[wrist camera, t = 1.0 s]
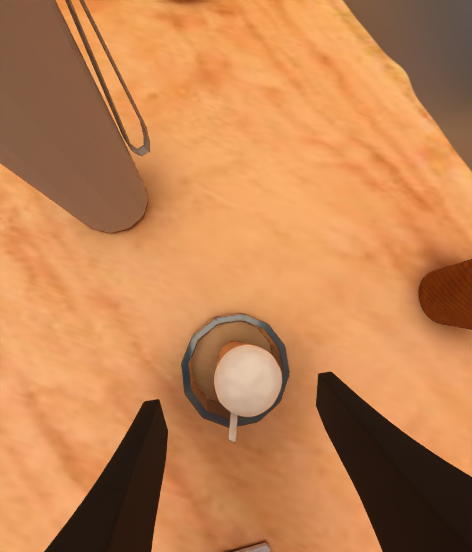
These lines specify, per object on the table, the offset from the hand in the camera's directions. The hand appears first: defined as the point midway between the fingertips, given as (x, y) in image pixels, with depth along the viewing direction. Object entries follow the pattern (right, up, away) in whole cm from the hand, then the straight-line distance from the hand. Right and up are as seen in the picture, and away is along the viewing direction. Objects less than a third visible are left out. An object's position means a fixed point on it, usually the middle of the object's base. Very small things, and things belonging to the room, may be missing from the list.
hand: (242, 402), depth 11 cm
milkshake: (-1, -3, +13) cm, 14 cm away
